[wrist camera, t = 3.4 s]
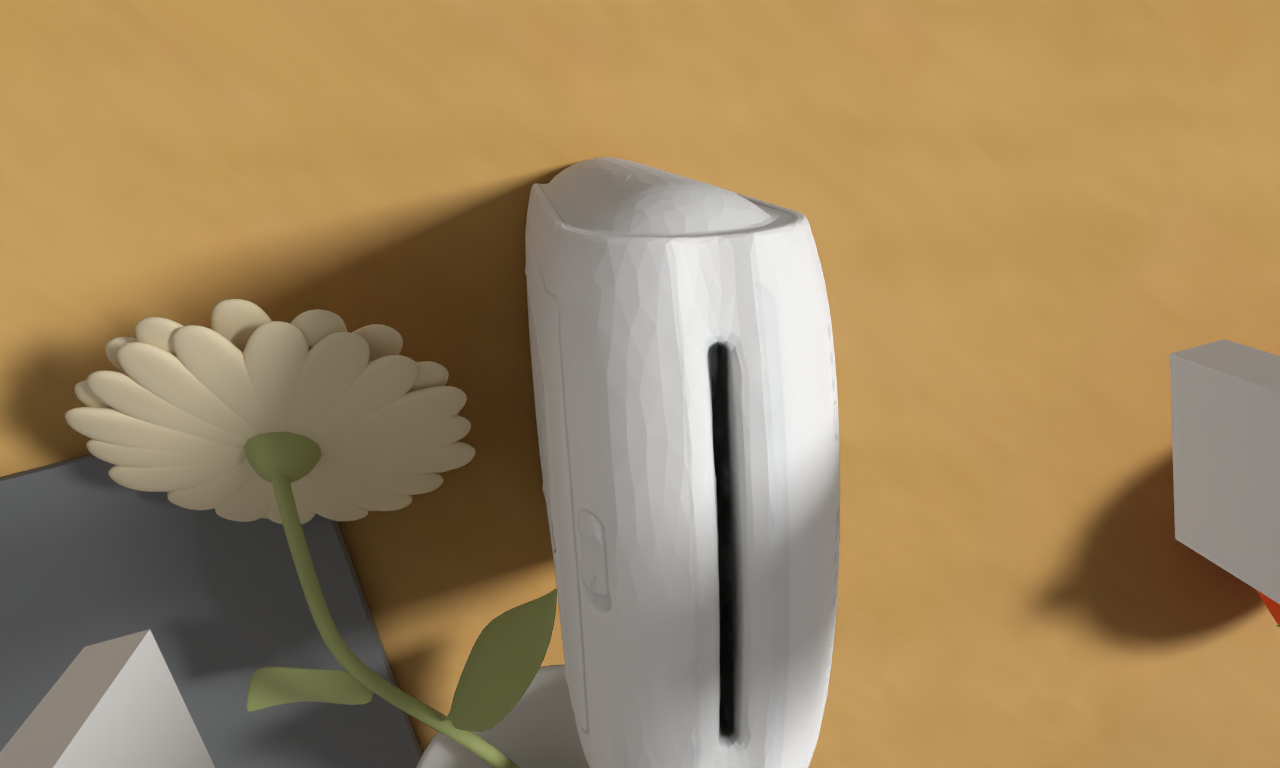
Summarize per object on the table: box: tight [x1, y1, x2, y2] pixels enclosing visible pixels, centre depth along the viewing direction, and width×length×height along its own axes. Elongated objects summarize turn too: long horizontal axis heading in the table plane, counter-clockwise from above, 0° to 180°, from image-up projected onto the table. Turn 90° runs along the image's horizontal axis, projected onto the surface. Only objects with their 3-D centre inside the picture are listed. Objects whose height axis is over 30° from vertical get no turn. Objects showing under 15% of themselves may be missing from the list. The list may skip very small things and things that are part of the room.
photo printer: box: [525, 157, 840, 768], centre depth 17 cm, size 10×4×12 cm, turn 2°
